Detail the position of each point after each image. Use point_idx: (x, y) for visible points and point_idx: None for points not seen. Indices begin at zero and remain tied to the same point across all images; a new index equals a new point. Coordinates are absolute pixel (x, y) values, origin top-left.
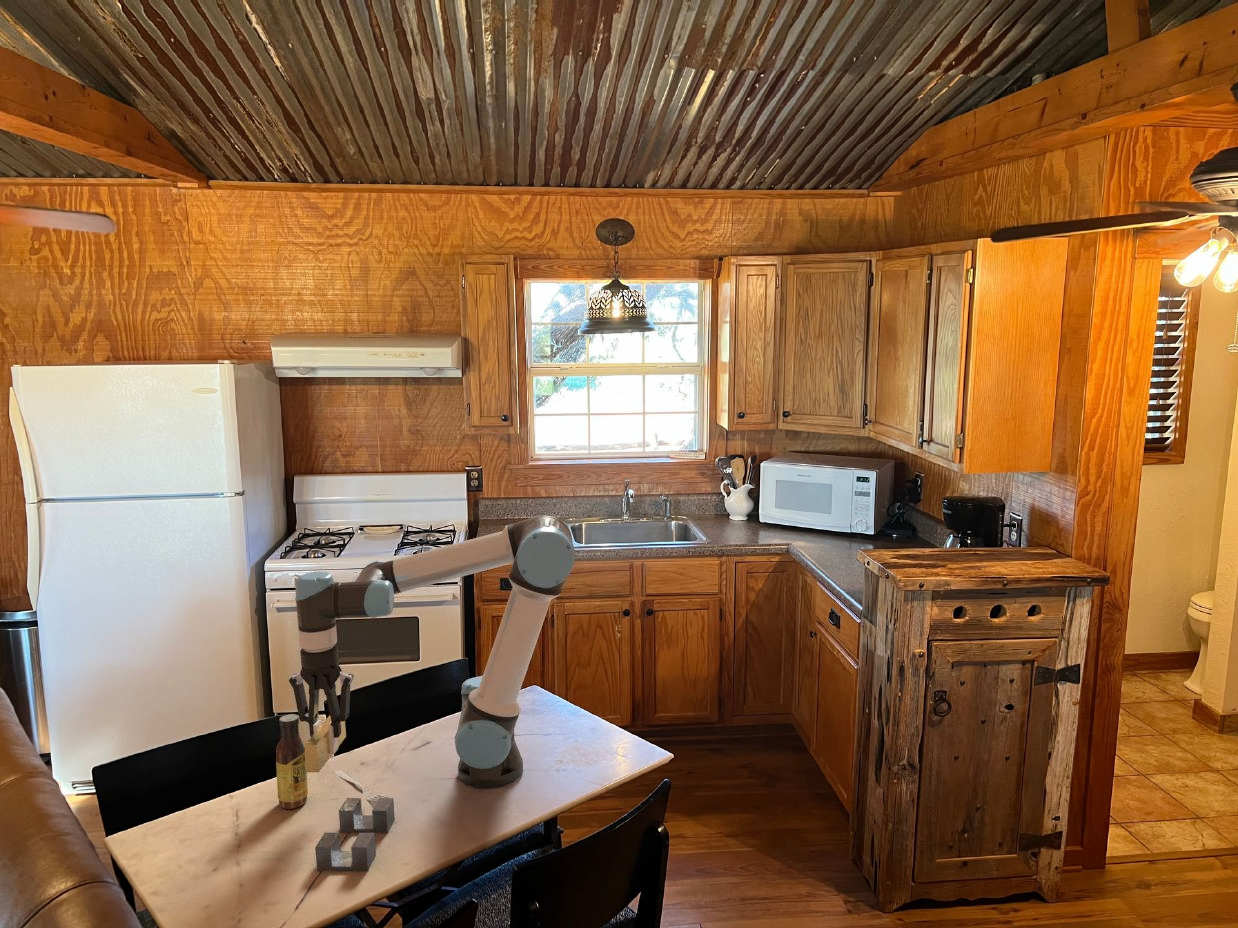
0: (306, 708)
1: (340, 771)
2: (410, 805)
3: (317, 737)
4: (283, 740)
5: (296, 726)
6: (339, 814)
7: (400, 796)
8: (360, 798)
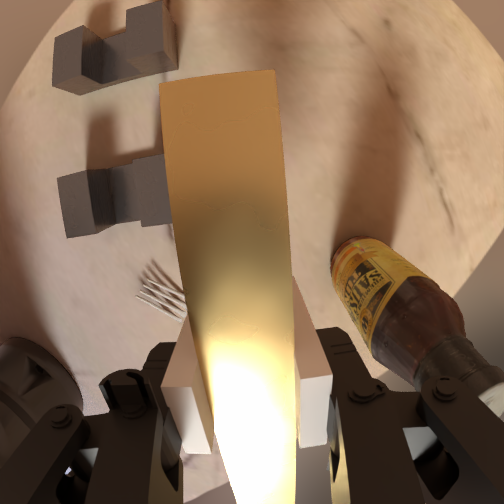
0: (434, 487)
1: None
2: (91, 282)
3: (224, 227)
4: (458, 333)
5: None
6: None
7: (127, 314)
8: (141, 224)
